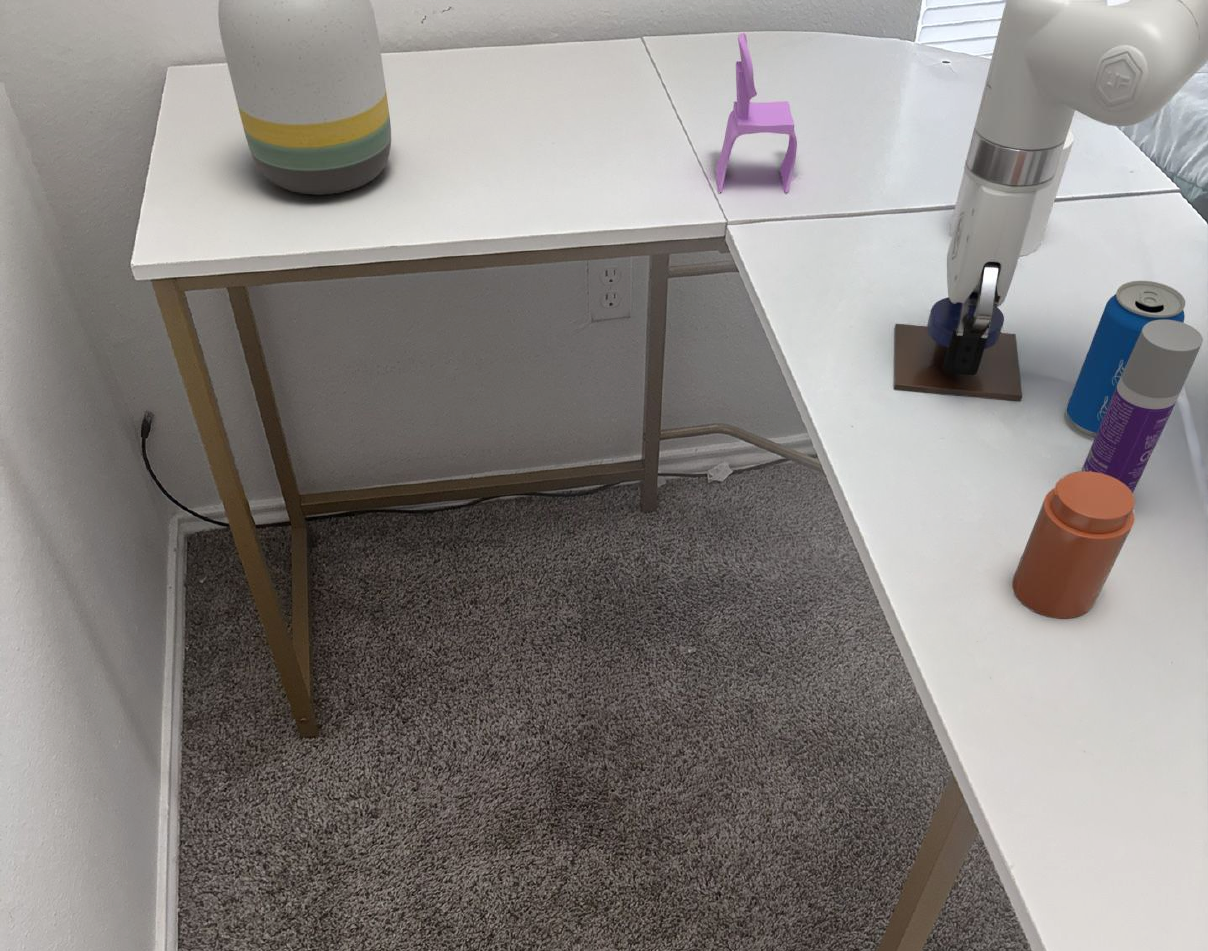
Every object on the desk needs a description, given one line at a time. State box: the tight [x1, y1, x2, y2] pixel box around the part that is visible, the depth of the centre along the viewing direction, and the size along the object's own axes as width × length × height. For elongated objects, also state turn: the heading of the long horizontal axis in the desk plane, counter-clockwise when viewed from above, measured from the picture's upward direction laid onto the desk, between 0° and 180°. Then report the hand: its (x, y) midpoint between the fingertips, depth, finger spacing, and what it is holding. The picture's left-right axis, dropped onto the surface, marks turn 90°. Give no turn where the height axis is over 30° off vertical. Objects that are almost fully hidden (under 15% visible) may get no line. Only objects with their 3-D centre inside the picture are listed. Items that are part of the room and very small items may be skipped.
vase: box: [217, 0, 392, 196], centre depth 122 cm, size 17×17×24 cm
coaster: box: [893, 323, 1023, 402], centre depth 107 cm, size 12×11×1 cm
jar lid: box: [926, 297, 1005, 349], centre depth 104 cm, size 7×7×2 cm
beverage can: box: [1066, 280, 1186, 438], centre depth 97 cm, size 6×6×12 cm
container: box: [1080, 320, 1204, 494], centre depth 89 cm, size 5×5×15 cm
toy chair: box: [714, 32, 798, 194], centre depth 125 cm, size 8×9×15 cm
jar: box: [1011, 471, 1136, 619], centre depth 84 cm, size 7×7×9 cm
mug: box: [949, 128, 1075, 257], centre depth 118 cm, size 14×10×11 cm
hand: (958, 349), depth 106 cm, fingers closed on jar lid, 6 cm apart
